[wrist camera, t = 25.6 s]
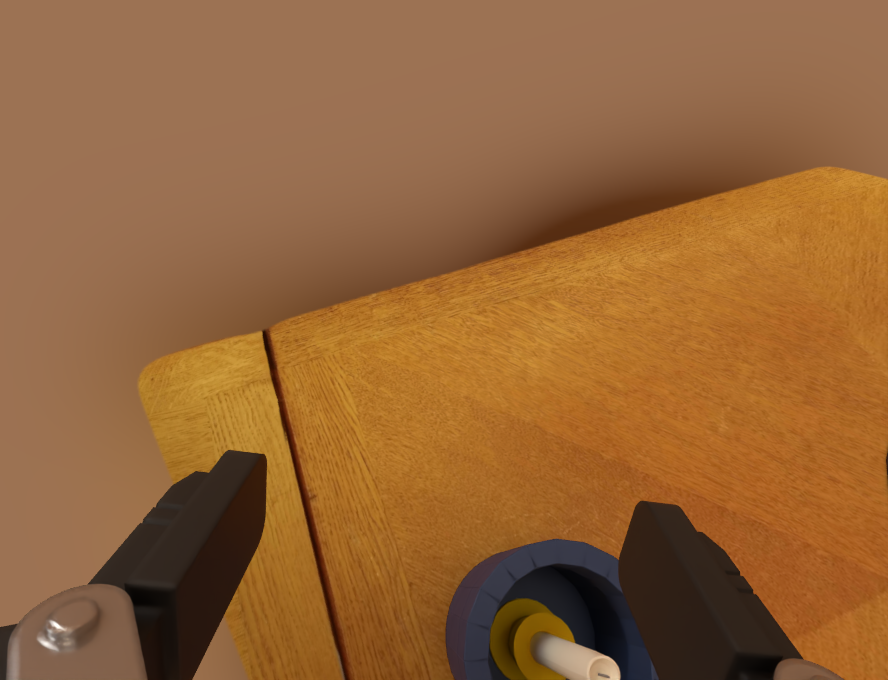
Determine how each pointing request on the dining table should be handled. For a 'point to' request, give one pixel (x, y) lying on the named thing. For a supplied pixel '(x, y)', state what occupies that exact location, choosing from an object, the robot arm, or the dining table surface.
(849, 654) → the dining table surface
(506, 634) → the candle
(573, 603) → the navy blue cup
